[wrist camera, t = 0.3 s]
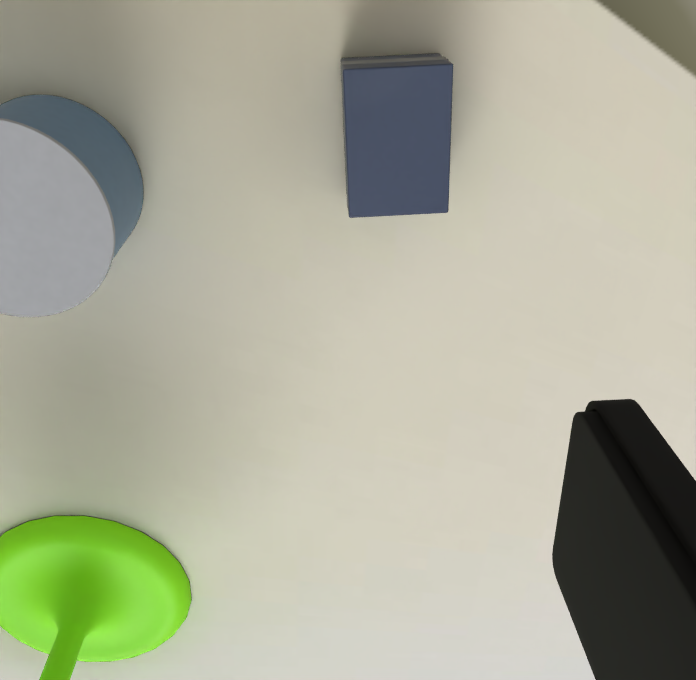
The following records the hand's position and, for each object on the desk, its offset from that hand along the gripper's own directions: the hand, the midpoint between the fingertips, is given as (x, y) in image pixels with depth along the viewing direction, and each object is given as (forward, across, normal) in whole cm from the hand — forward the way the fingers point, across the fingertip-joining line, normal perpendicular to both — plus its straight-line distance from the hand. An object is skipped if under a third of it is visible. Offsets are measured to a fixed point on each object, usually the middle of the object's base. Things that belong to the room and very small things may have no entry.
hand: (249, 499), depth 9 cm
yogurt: (+29, +13, +3) cm, 32 cm away
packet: (+29, -5, 0) cm, 29 cm away
